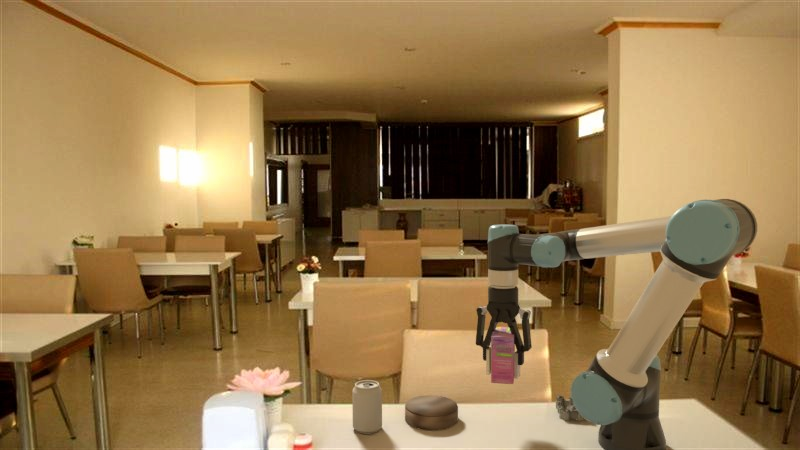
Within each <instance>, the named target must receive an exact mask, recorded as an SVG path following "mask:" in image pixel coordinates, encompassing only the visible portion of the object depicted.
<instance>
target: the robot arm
mask: <svg viewBox="0 0 800 450" xmlns="http://www.w3.org/2000/svg"><path fill="white" fill-rule="evenodd" d="M757 233H758V222H757V218H756V216H755V214H754V212H753V211H752V210H751V208H749V207H748V206H747V205H746V204H744V203H742V202H741V201H738V200H736V199H730V198H720V199H700V200H699V199H698V200H695V201H692V202H689V203H687V204H685V205H683V206H682V207H680V208H678V209H677V210H676V211H675V212H674V213H673V214H672V215H670V216H663V217H654V218H649V219H641V220H640V219H639V220H635V221H634V220H633V221H627V222H620V223H613V224H607V225H606V224H605V225H600V226H599V225H598V226H592V227H584V228H579V229H568V230H563V231H557V232H548V233H540V234H532V233H531V234H530V233H529V234H528V233H527V234H525V233H520V231H519V227H518V225H515V224H507V223H506V224H505V223H504V224H493V225H490V226H489V228H488V233H487V234H488V235H487V243H486V244H487V254H488V255H487V258H488V259H487V261H488V266H487V270H488V271H487V272H488V273H487V284H488V285H489V286H488V288H487V293H488V295H487V300H488V301H487V305H486V306H485V305H484V306H483V305H481V306H479V307H477V308H476V310H475V311H476V315H477V325H476V332H475V333H476V335H475V345H476V346H479V347H480V348H481V349H482V360H483V361H485V364H486V367H485V368H486V375H488V376H491V336H492V332H493V331H494V330H495V329H496V327H498V324H499V323H504V324H507V327H509V328H510V331H511V334H514V343H515V353H514V380H517V379H519V378H520V377H521V366H523V365H524V364H525V352H529V351H531V349H532V348H533V347H532V346H533V345H532V337H531V336H532V335H531V329H530V328H531V327H530V326H531V325H530V324H531V323H530V318H531V313H532V312H531V311H530V310H528V309H527V310H525V309H522V308H521V307H520V304H519V287H518V286H517V285H518V284H519V265H523V266H524V265H525V266H526V265H527V266H533V267H541V268H544V269H546V268H557V267H559V266H560V265H561V263H563V262H566V261H577V260H584V259H595V258H596V259H597V258H605V257H606V258H607V257H614V256H615V257H617V256H625V255H637V254H648V253H658V252H659V253H660V255H661V258H662V260H661V262H660V263H659V266H658V267H657V268H656V271H655V272H654V274H653V275H652V277H651V279H650V280H649V282H648V284H646V286H645V288H644V290H643V291H642V294H641V295H640V297H639V298H638V300H637V301H636V303H635V304H634V306H633V308H632V310H631V311H630V313H629V315H628V316H627V318H626V320H625V321H624V323H623V324H622V326H621V328H620V329H619V331H618V333H617V334H616V335H615V338H614V339H613V341H612V342H611V344H610V346H609V347H608V348H603V349H599V350H598V352H597V353H596V354H595V356H594V358H593V359H592V361H591V363H590V364H589V366H588V368H587V369H586V370H585V371H582V372H580V373H579V374H578V375H577V376H576V377H575V378H574V379H573V381H572V382H571V385H570V397H571V398H572V399H573V404H574V406H575V408H576V410H577V411H578V412H579V413H580V414H581V415H582V416H583V417H584V418H585V419H584V420H586V421H588V422H590V423H591V424H594V425H599V426H600V427H599V429H598V436H597V437H598V438H597V439H598V444H599V445H600V446H601V447H602V448H603V449H605V450H667V440H666V436H665V432H664V429H663V426H662V423H661V420H660V419H661V418H660V396H661V376H662V375H661V372H662V368H661V359H660V357H659V356H658V353H659V352H660V350H661V348H662V347H663V345H664V344H665V342H666V340H668V338H669V337H670V335H671V334H672V332H673V331H674V329H675V327H676V326H677V324H678V322H680V320H681V318H682V317H683V315H684V314H685V312H686V310H687V309H688V308H689V306H690V305H691V303H692V302H693V300H694V298H695V297H696V295H697V293H699V291H700V289H701V287H702V286H703V285H704V283H707V282H711V281H716V280H717V279H718V278H719V276H720V275H721V273H722V272H723V270H724V269H725V267H726V266H727V265H728V264H729V262H730V260H731V258H732V257H733V256H736V255H738V254H740V253H743V252H744V251H746V250H747V249H748V248H749V247H750V246H751V245H752V244H753V243H754V241H755V239H756V237H757ZM487 313H488V314H489V315H490V316H491V319H490V322H489V326H488V329H487V332H486V334H485V327H486V326H485V325H486V315H487ZM518 315H519V316H520V319H521V328H522V337H521V333H520V330H519V328H518V323H517V319H516V317H517V316H518ZM522 339H523V340H522Z"/></svg>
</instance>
